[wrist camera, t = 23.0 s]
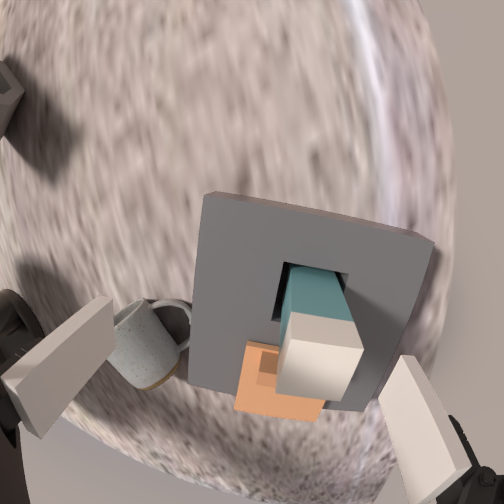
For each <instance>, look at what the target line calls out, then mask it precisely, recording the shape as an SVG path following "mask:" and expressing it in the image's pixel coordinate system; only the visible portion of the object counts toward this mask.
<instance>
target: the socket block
mask: <svg viewBox="0 0 504 504" xmlns="http://www.w3.org/2000/svg"><path fill="white" fill-rule="evenodd" d="M433 247H434V242H433V241H431V240H429V239H427V238H426V237H424V236H422V235H420V234H419V233H417V232H413V231H409V230H405V229H401V228H397V227H393V226H389V225H385V224H381V223H376V222H372V221H368V220H363V219H359V218H355V217H350V216H346V215H341V214H336V213H332V212H327V211H322V210H317V209H312V208H307V207H302V206H297V205H292V204H287V203H282V202H276V201H271V200H265V199H260V198H254V197H248V196H242V195H236V194H230V193H223V192H217V191H215V192H212V193H209V194H206V195H204V198H203V205H202V213H201V222H200V230H199V239H198V248H197V258H196V267H195V278H194V289H193V301H192V314H191V328H190V344H189V362H188V384H190V385H194V386H198V387H202V388H206V389H210V390H214V391H218V392H222V393H227V394H231V395H236V396H237V391H238V385H239V380H240V375H241V370H242V365H243V359H244V354H245V349H246V344H247V341H252V342H257V343H263V344H268V345H273V346H279V341H280V328H281V314H282V303H280V302H275V300H276V295H277V290H278V286H279V281H280V276H281V271H282V267H283V262H289V263H294V264H300V265H305V266H310V267H315V268H321V269H326V270H331V271H337V272H338V274H337V280H338V282H339V285H340V287H341V290H342V292H343V295H344V297H345V300H346V302H347V305H348V307H349V310H350V313H351V315H352V318H353V320H354V323H355V326H356V328H357V331H358V334H359V337H360V339H361V342H362V345H363V348H364V351H363V353H362V355H361V358H360V360H359V362H358V365H357V367H356V369H355V371H354V374H353V376H352V378H351V380H350V382H349V384H348V387H347V389H346V391H345V393H344V395H343V397H342V399H341V401H330V400H326V401H325V403H324V405H323V407H322V409H330V410H343V411H359V412H363V411H364V410H365V408H366V406H367V405H368V403H369V401H370V399H371V398H372V396H373V394H374V392H375V390H376V388H377V387H378V385H379V383H380V381H381V379H382V377H383V375H384V373H385V371H386V369H387V367H388V365H389V363H390V361H391V359H392V357H393V355H394V352H395V350H396V348H397V346H398V344H399V341H400V339H401V337H402V334H403V332H404V330H405V327H406V325H407V323H408V320H409V318H410V315H411V312H412V310H413V307H414V305H415V302H416V299H417V297H418V294H419V291H420V288H421V285H422V282H423V279H424V276H425V273H426V270H427V267H428V264H429V260H430V257H431V254H432V250H433Z"/></svg>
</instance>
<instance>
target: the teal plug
mask: <svg viewBox="0 0 504 504" xmlns="http://www.w3.org/2000/svg"><path fill="white" fill-rule="evenodd" d="M363 351H364V348H363V345H362V342H361V339H360V337H359V334H358V331H357V328H356V326H355V323H354V320H353V318H352V315H351V313H350V310H349V307H348V305H347V302H346V300H345V297H344V295H343V292H342V290H341V287H340V285H339V282H338V280H337V277H336V275H335V273H334V271H331V270H326V269H321V268H315V267H310V266H305V265H300V264H294V263H290V264H289V269H288V273H287V278H286V283H285V287H284V292H283V299H282V314H281V328H280V341H279V354H278V365H277V377H276V388H275V393H276V394H283V395H289V396H296V397H304V398H312V399H321V400H330V401H341V399H342V397H343V395H344V393H345V391H346V389H347V387H348V384H349V382H350V380H351V378H352V376H353V374H354V371H355V369H356V367H357V365H358V362H359V360H360V358H361V355H362V353H363Z"/></svg>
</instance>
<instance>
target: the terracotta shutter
mask: <svg viewBox="0 0 504 504" xmlns="http://www.w3.org/2000/svg"><path fill="white" fill-rule="evenodd" d="M278 354H279V346H273V345H268V344H263V343H257V342H252V341H247V344H246V349H245V354H244V359H243V365H242V370H241V375H240V380H239V385H238V391H237V396H236V401H235V406H234V410H239V411H244V412H249V413H255V414H260V415H266V416H272V417H279V418H286V419H294V420H302V421H311V422H316V420H317V418H318V416H319V414H320V411H321V409H322V407H323V405H324V403H325V401H326V400H321V399H312V398H304V397H296V396H289V395H283V394H276V393H275V388H276V377H277V365H278Z"/></svg>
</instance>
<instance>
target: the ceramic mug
mask: <svg viewBox="0 0 504 504" xmlns="http://www.w3.org/2000/svg"><path fill="white" fill-rule="evenodd" d="M163 306H175V307H178V308H182V309H184V310H185V312H186V314H187V316H188V318H189V324H190V325H191V314H192V309H191V308H190V307H189V306H188V305H187V304H186V303H184V302H183V301H180V300H176V299H163V300H159V301H156V302H154V303H152V304H149V303H148V302H147V300H146V299H145V298H141V299H138V300H136V301H134V302H132V303H130V304H129V305H127V306H125V307H124V308H123V309H121V310H120V311H118V312H117V313H116V314H114V315H113V316H114V330H115V341H116V348H115V350H114V351H113V352H112V353H111V354H110V355H109V357H108V358H107V360H108V361H109V362H110V363H111V364H112V365H113V366H114V367H115V368H116V370H117V371H118V372H119V373H120V374H121V375H122V376H123V377H124V378H125V379H126V380H127V381H128V382H129V383H130V384H132V385H133V386H134V387H136V388H138V389H139V390H150V389H153V388H156V387H157V386H159V385H161V384H163V383H164V382H165V381H166V380H168V379H169V378H170V377H171V376H172V375H173V374H174V373H175V371H176V370H177V368H178V367H179V364H180V361H181V351H184V350H185V349H187V348H188V347H189V344H190V336H189V337H188V338H187V339H186V340H185V341H184V342H183V343H181V344H179V345H177V344H176V342H175V341H174V340H173V338H172V337H171V335H170V334H169V333H168V332H167V330H166V329H165V327H164V326H163V324H162V323H161V321H160V320H159V318H158V317H157V315H156V313H155V312H154V311H153V309H155V308H159V307H163Z"/></svg>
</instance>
